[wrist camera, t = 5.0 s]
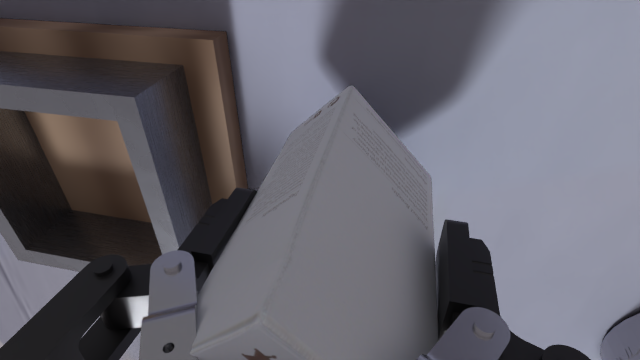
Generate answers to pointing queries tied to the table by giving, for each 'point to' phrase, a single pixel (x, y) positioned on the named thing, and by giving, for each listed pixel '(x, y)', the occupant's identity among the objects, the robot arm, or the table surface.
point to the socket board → (112, 139)
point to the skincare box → (329, 251)
